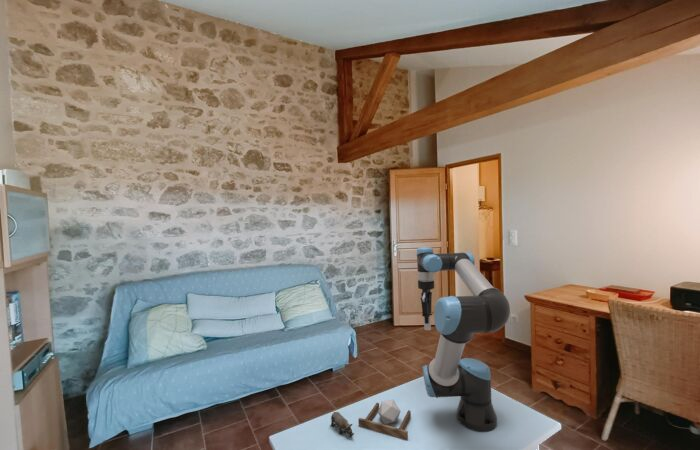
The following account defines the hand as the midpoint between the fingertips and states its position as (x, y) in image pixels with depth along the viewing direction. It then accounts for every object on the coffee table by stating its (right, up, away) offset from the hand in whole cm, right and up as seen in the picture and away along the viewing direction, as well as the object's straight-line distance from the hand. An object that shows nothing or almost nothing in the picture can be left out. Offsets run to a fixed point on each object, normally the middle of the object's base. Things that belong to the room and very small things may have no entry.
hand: (427, 329), depth 150 cm
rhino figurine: (-40, -32, -26) cm, 57 cm away
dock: (-21, -31, -22) cm, 43 cm away
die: (-21, -31, -21) cm, 43 cm away
